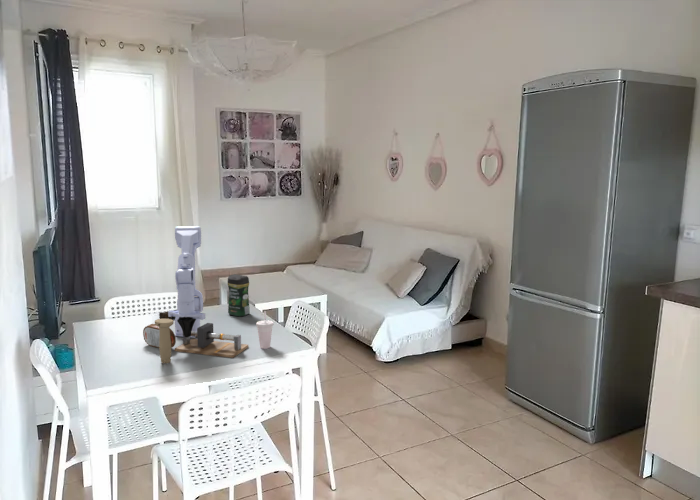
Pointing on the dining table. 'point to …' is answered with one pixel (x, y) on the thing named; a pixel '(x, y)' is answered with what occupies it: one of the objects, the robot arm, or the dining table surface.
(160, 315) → the hand tool
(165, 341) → the handle
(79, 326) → the dining table surface
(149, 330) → the tin
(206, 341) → the collar
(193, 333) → the silver metal rod
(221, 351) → the base board
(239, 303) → the coffee jar
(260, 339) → the smoothie
